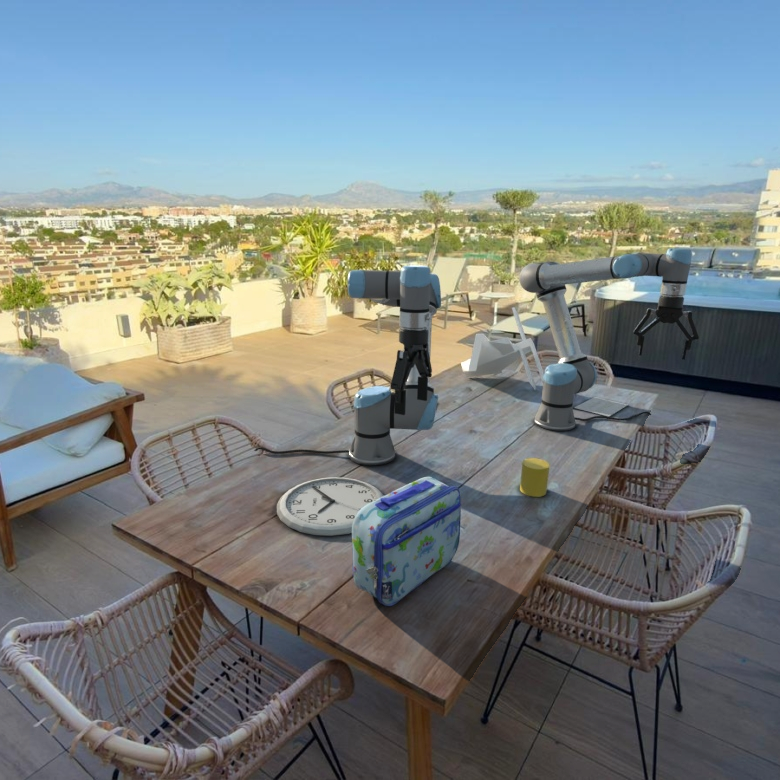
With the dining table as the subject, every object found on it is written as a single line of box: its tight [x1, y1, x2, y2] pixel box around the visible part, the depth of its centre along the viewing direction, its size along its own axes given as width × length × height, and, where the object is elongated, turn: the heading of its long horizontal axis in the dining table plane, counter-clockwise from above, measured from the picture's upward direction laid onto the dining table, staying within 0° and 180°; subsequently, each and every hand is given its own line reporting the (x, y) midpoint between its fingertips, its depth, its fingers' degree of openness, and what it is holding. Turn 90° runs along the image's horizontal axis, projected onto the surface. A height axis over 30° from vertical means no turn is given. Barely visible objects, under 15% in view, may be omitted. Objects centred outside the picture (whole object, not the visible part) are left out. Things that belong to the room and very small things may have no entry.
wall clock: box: [276, 476, 385, 537], centre depth 142 cm, size 30×2×30 cm
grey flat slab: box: [573, 396, 629, 417], centre depth 226 cm, size 21×1×15 cm
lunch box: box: [351, 476, 462, 607], centre depth 111 cm, size 26×11×21 cm, turn 135°
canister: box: [519, 457, 550, 498], centre depth 152 cm, size 8×8×9 cm
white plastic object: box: [460, 306, 545, 391], centre depth 259 cm, size 37×45×31 cm
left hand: (411, 406), depth 140 cm, fingers open, 13 cm apart
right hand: (661, 356), depth 184 cm, fingers open, 13 cm apart
